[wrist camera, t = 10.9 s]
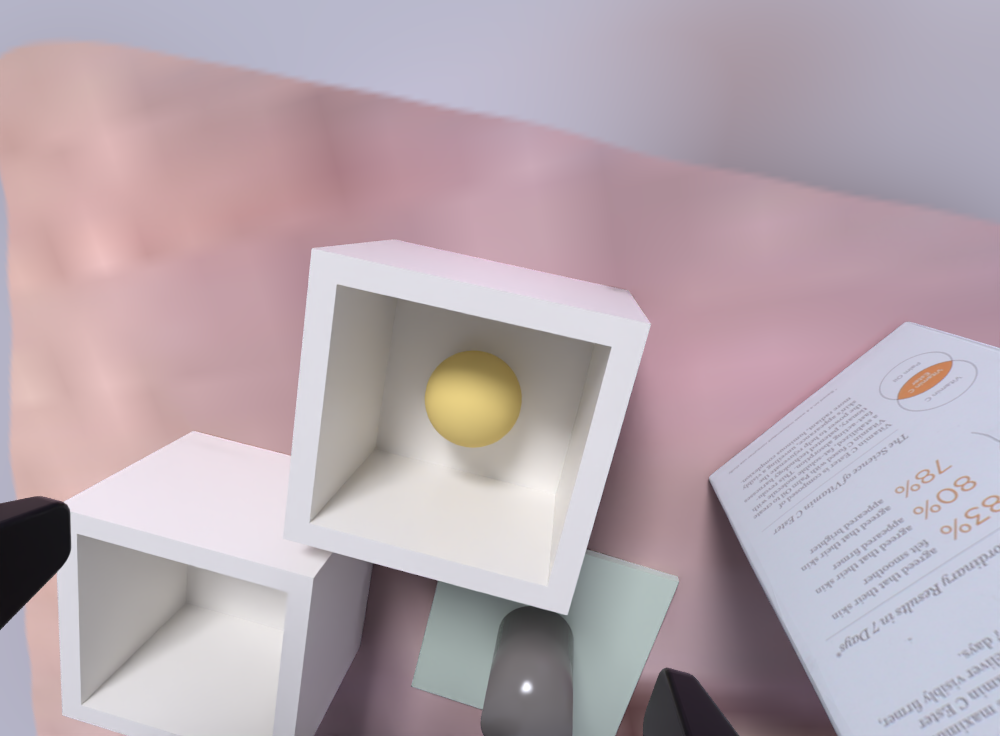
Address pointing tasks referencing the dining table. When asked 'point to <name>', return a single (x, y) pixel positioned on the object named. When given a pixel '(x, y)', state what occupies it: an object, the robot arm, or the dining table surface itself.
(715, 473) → the small box
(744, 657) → the dining table surface
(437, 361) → the pot
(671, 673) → the robot arm
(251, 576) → the pot
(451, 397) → the ball
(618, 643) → the lid
